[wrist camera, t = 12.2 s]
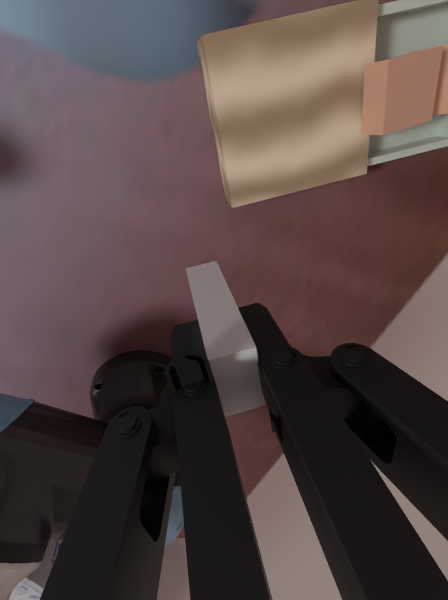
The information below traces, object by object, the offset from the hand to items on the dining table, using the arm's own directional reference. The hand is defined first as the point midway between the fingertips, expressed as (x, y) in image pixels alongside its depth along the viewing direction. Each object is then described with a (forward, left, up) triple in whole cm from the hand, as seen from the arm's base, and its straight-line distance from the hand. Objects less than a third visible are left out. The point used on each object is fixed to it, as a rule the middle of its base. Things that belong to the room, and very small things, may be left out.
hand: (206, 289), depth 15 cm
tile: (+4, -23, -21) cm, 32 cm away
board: (+5, -13, -25) cm, 28 cm away
